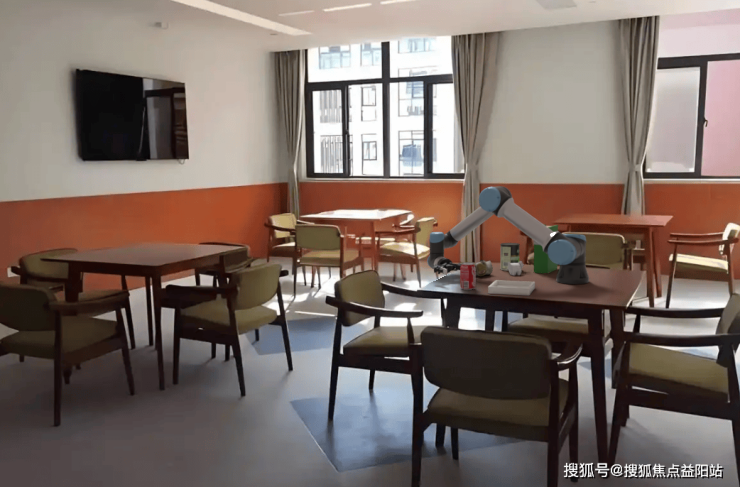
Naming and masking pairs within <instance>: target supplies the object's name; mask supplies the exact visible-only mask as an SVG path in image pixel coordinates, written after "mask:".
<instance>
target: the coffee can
mask: <svg viewBox="0 0 740 487" xmlns="http://www.w3.org/2000/svg"><path fill="white" fill-rule="evenodd" d="M499 245H500V270H501V271H505V272H507V271H508V272H509V270H508V269H507V268H508V262H510V263H518V262H519V261H520V246H521V245H520V243H519V242H518V243H517V242H502V243H500V244H499Z"/></svg>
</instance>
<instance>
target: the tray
mask: <svg viewBox="0 0 740 487" xmlns="http://www.w3.org/2000/svg"><path fill="white" fill-rule="evenodd" d="M535 289H536V281H528V280H527V281H525V280H524V281H523V280H505V279H504V280H503V279H502V280H500V279H495V280H494V281H493V282H492V283H490V285H488V286H487V290H488V292H487V294H491V295H493V294H495V295H510V296H511V295H512V296H513V295H515V296H530V295H531V294H532V293H533V291H534V290H535Z"/></svg>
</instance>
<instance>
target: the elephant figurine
mask: <svg viewBox="0 0 740 487" xmlns="http://www.w3.org/2000/svg"><path fill="white" fill-rule="evenodd" d="M523 267H524V263H523V261H522V260H519V262H518V263H510V262H508V268H507V269H508V270H509V271H508V272H509V275H511V276H516V275H517V276H520V275H522V270H523Z"/></svg>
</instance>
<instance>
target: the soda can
mask: <svg viewBox="0 0 740 487" xmlns="http://www.w3.org/2000/svg"><path fill="white" fill-rule="evenodd" d="M461 264H462V265H461V267H460V270H459V271H460V272H459V286H460V288H461V289H462V290H465V291H473V290H474V289H476V284H477V282H476V280H477V279H476V277H477V275H476V268H475V265H474V264H475V263H474V262H468V261H467V262H465V261H464V262H461ZM472 289H473V290H472Z"/></svg>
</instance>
